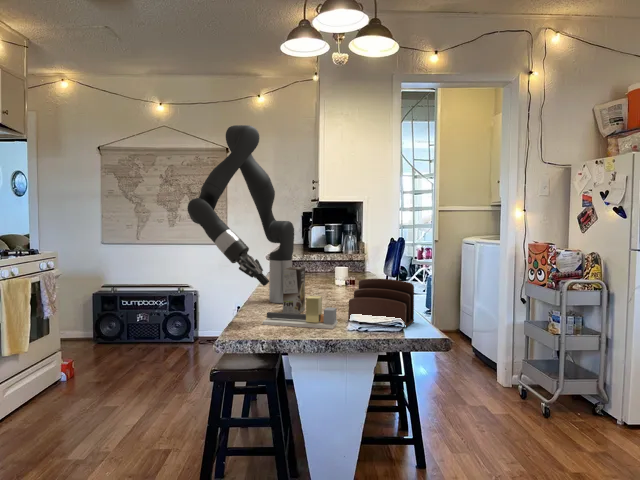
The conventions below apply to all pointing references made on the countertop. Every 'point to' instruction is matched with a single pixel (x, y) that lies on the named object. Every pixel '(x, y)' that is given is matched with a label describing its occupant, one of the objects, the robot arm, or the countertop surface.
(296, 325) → the white base plate
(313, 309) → the sleeve
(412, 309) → the letter holder
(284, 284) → the coffee box
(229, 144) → the robot arm
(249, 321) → the countertop surface
